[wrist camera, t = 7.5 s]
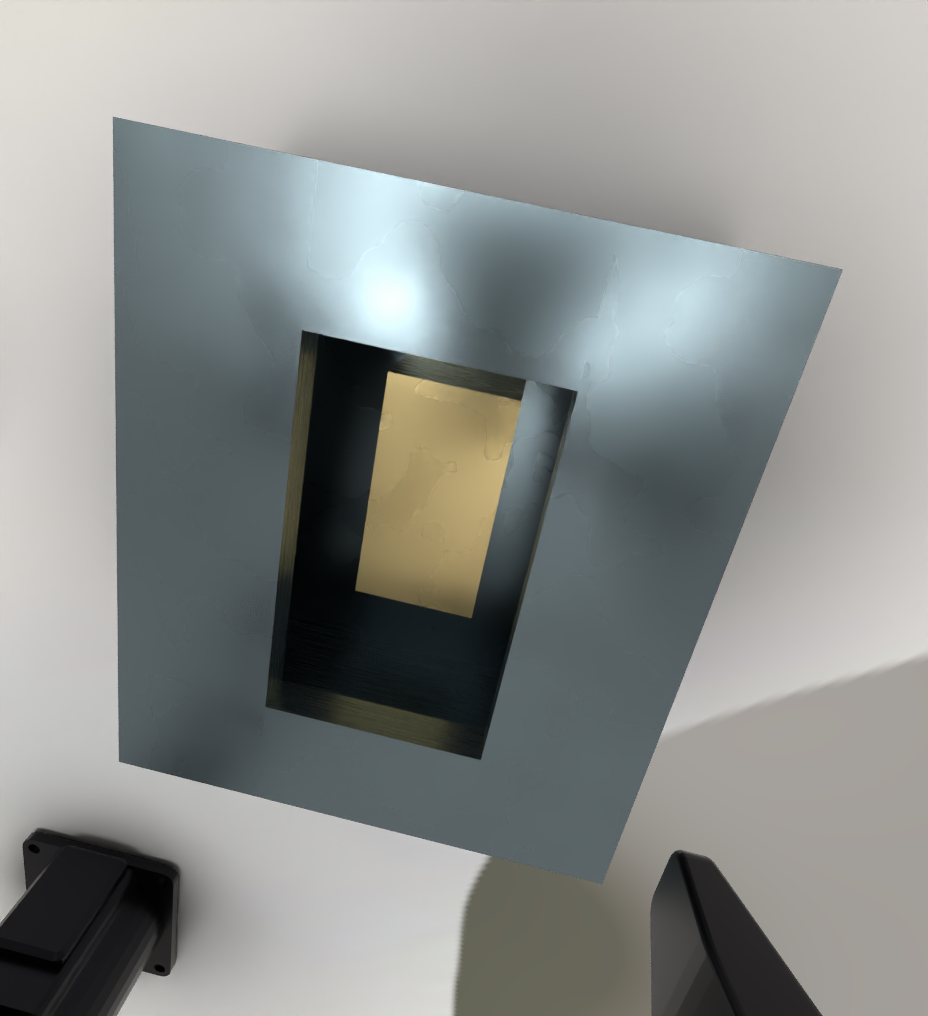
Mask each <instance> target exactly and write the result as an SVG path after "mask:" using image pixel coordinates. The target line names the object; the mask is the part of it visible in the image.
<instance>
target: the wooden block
mask: <svg viewBox="0 0 928 1016" xmlns="http://www.w3.org/2000/svg"><path fill="white" fill-rule="evenodd" d="M525 384H526V380H525V379H520V378H516V377H511V376H507V375H502V374H498V373H493V372H489V371H484V370H480V369H475V368H471V367H466V366H462V365H457V364H453V363H448V362H444V361H439V360H435V359H430V358H426V357H421V356H416V355H412V354H409V355H408V356H406V357H405V358H404V359H403V360H402V361H400V362H399V363H398V364H397V365H395V366H394V367H393V368H392V369H391V370H389V371H388V375H387V381H386V388H385V395H384V402H383V408H382V415H381V422H380V428H379V435H378V442H377V448H376V455H375V462H374V468H373V475H372V482H371V488H370V495H369V502H368V508H367V515H366V522H365V528H364V535H363V542H362V548H361V555H360V562H359V568H358V575H357V582H356V588H355V591H359V592H364V593H368V594H372V595H376V596H380V597H385V598H389V599H393V600H397V601H401V602H406V603H410V604H414V605H418V606H422V607H427V608H431V609H435V610H439V611H443V612H448V613H452V614H456V615H460V616H464V617H469V618H472V613H473V609H474V605H475V600H476V596H477V592H478V588H479V583H480V579H481V575H482V570H483V566H484V562H485V557H486V553H487V549H488V544H489V540H490V536H491V531H492V527H493V523H494V519H495V514H496V510H497V506H498V501H499V497H500V493H501V488H502V484H503V480H504V475H505V471H506V467H507V462H508V458H509V454H510V449H511V445H512V441H513V437H514V432H515V428H516V424H517V419H518V415H519V411H520V406H521V402H522V398H523V393H524V389H525Z"/></svg>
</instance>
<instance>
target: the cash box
mask: <svg viewBox="0 0 928 1016" xmlns="http://www.w3.org/2000/svg"><path fill="white" fill-rule="evenodd" d="M113 178H114V283H115V389H116V495H117V600H118V706H119V762H123V763H127V764H130V765H134V766H138V767H142V768H146V769H150V770H154V771H158V772H162V773H166V774H170V775H174V776H178V777H182V778H186V779H190V780H194V781H198V782H201V783H205V784H209V785H213V786H217V787H221V788H225V789H229V790H233V791H237V792H241V793H245V794H249V795H253V796H257V797H261V798H265V799H268V800H272V801H276V802H280V803H284V804H288V805H292V806H296V807H300V808H304V809H308V810H312V811H316V812H320V813H324V814H328V815H332V816H336V817H339V818H343V819H347V820H351V821H355V822H359V823H363V824H367V825H371V826H375V827H379V828H383V829H387V830H391V831H395V832H399V833H403V834H406V835H410V836H414V837H418V838H422V839H426V840H430V841H434V842H438V843H442V844H446V845H450V846H454V847H458V848H462V849H466V850H470V851H474V852H477V853H481V854H485V855H489V856H493V857H497V858H501V859H505V860H509V861H513V862H517V863H521V864H525V865H529V866H533V867H537V868H541V869H545V870H548V871H553V872H556V873H560V874H564V875H568V876H572V877H576V878H580V879H584V880H588V881H592V882H596V883H600V884H602V883H603V880H604V878H605V875H606V873H607V870H608V868H609V865H610V863H611V860H612V857H613V855H614V852H615V850H616V847H617V845H618V842H619V840H620V837H621V834H622V832H623V829H624V827H625V824H626V822H627V819H628V817H629V814H630V811H631V808H632V806H633V804H634V801H635V799H636V796H637V794H638V791H639V788H640V786H641V783H642V781H643V778H644V776H645V773H646V770H647V768H648V766H649V763H650V760H651V758H652V755H653V753H654V750H655V748H656V745H657V743H658V740H659V737H660V735H661V732H662V730H663V727H664V725H665V722H666V720H667V717H668V714H669V712H670V709H671V707H672V704H673V702H674V699H675V697H676V694H677V691H678V689H679V686H680V684H681V681H682V679H683V676H684V674H685V671H686V668H687V666H688V663H689V661H690V658H691V656H692V653H693V651H694V648H695V645H696V643H697V640H698V638H699V635H700V633H701V630H702V628H703V625H704V622H705V620H706V617H707V615H708V612H709V610H710V607H711V605H712V602H713V600H714V597H715V594H716V592H717V589H718V587H719V584H720V582H721V579H722V577H723V574H724V571H725V569H726V566H727V564H728V561H729V559H730V556H731V554H732V551H733V548H734V546H735V543H736V541H737V538H738V536H739V533H740V531H741V528H742V525H743V523H744V520H745V518H746V515H747V513H748V510H749V508H750V505H751V502H752V500H753V497H754V495H755V492H756V490H757V487H758V485H759V482H760V479H761V477H762V474H763V472H764V469H765V467H766V464H767V462H768V459H769V456H770V454H771V451H772V449H773V446H774V444H775V441H776V439H777V436H778V433H779V431H780V428H781V426H782V423H783V421H784V418H785V416H786V413H787V411H788V408H789V405H790V403H791V400H792V398H793V395H794V393H795V390H796V388H797V385H798V382H799V380H800V377H801V375H802V372H803V370H804V367H805V365H806V362H807V359H808V357H809V354H810V352H811V349H812V347H813V344H814V342H815V339H816V336H817V334H818V331H819V329H820V326H821V324H822V321H823V319H824V316H825V313H826V311H827V308H828V306H829V303H830V301H831V298H832V296H833V293H834V290H835V288H836V285H837V283H838V280H839V278H840V275H841V273H842V269H838V268H833V267H828V266H823V265H819V264H814V263H809V262H804V261H799V260H795V259H790V258H785V257H780V256H776V255H771V254H766V253H761V252H756V251H752V250H747V249H742V248H737V247H733V246H728V245H723V244H718V243H713V242H709V241H704V240H699V239H694V238H690V237H685V236H680V235H675V234H670V233H666V232H661V231H656V230H651V229H647V228H642V227H637V226H632V225H627V224H623V223H618V222H613V221H608V220H604V219H599V218H594V217H589V216H584V215H580V214H575V213H570V212H565V211H561V210H556V209H551V208H546V207H541V206H537V205H532V204H527V203H522V202H518V201H513V200H508V199H503V198H498V197H494V196H489V195H484V194H479V193H475V192H470V191H465V190H460V189H455V188H451V187H446V186H441V185H436V184H432V183H427V182H422V181H417V180H412V179H408V178H403V177H398V176H393V175H389V174H384V173H379V172H374V171H369V170H365V169H360V168H355V167H350V166H346V165H341V164H336V163H331V162H326V161H322V160H317V159H312V158H307V157H303V156H298V155H293V154H288V153H283V152H279V151H274V150H269V149H264V148H260V147H255V146H250V145H245V144H240V143H236V142H231V141H226V140H221V139H217V138H212V137H207V136H202V135H197V134H193V133H188V132H183V131H178V130H174V129H169V128H164V127H159V126H154V125H150V124H145V123H140V122H135V121H131V120H126V119H121V118H116V117H113ZM409 354H412V355H416V356H421V357H426V358H430V359H435V360H439V361H444V362H448V363H453V364H457V365H462V366H466V367H471V368H475V369H480V370H484V371H489V372H493V373H498V374H502V375H507V376H511V377H516V378H520V379H525V380H526V384H525V389H524V393H523V398H522V402H521V406H520V411H519V415H518V419H517V424H516V428H515V432H514V437H513V441H512V445H511V449H510V454H509V458H508V462H507V467H506V471H505V475H504V480H503V484H502V488H501V493H500V497H499V501H498V506H497V510H496V514H495V519H494V523H493V527H492V531H491V536H490V540H489V544H488V549H487V553H486V557H485V562H484V566H483V570H482V575H481V579H480V583H479V588H478V592H477V596H476V600H475V605H474V609H473V613H472V618H469V617H464V616H460V615H456V614H452V613H448V612H443V611H439V610H435V609H431V608H427V607H422V606H418V605H414V604H410V603H406V602H401V601H397V600H393V599H389V598H385V597H380V596H376V595H372V594H368V593H364V592H359V591H355V588H356V582H357V575H358V568H359V562H360V555H361V548H362V542H363V535H364V528H365V522H366V515H367V508H368V502H369V495H370V488H371V482H372V475H373V468H374V462H375V455H376V448H377V442H378V435H379V428H380V422H381V415H382V408H383V402H384V395H385V388H386V381H387V375H388V371H389V370H391V369H392V368H393V367H394V366H395V365H397V364H398V363H399V362H400V361H402V360H403V359H404V358H405V357H406V356H408V355H409Z"/></svg>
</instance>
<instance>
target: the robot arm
mask: <svg viewBox="0 0 928 1016" xmlns="http://www.w3.org/2000/svg"><path fill="white" fill-rule="evenodd" d="M23 856H24V867H25V879H26V890H27V891H26V892H25V893H24V895H23V896H22V897H21V898H20V899H19V901H18V902H17V903H16V904H15V906H14V907H13V908H12V909H11V911H10V912H9V913H8V914H7V916H6V917H5V918H4V919H3V920H2V922H1V923H0V1016H117V1015H118V1013H119V1011H120V1009H121V1008H122V1006H123V1004H124V1002H125V1000H126V999H127V997H128V995H129V993H130V992H131V990H132V988H133V986H134V984H135V983H136V981H137V979H138V977H139V976H140V974H141V972H142V971H144V972H148V973H151V974H155V975H159V976H167V975H169V974H170V972H171V970H172V968H173V966H174V964H175V955H176V930H177V904H178V878H179V877H178V873H177V872H176V870H175V869H173V868H172V867H170V866H168V865H164V864H160V863H156V862H152V861H149V860H145V859H141V858H137V857H133V856H129V855H125V854H122V853H118V852H114V851H110V850H106V849H102V848H99V847H95V846H91V845H87V844H83V843H79V842H75V841H72V840H68V839H64V838H60V837H56V836H52V835H49V834H45V833H41V832H34V833H32V834H31V835H30V836H29V837H28V838H27V839H26V840H25V841H24V843H23ZM650 942H651V1016H822V1015H821V1013H820V1012H819V1010H818V1009H817V1008H816V1006H815V1005H814V1003H813V1002H812V1000H811V999H810V998H809V996H808V995H807V993H806V992H805V991H804V989H803V988H802V986H801V985H800V983H799V982H798V981H797V979H796V978H795V976H794V975H793V974H792V972H791V971H790V969H789V968H788V966H787V965H786V964H785V962H784V961H783V959H782V958H781V956H780V955H779V954H778V952H777V951H776V949H775V948H774V947H773V945H772V944H771V942H770V941H769V939H768V938H767V937H766V935H765V934H764V932H763V931H762V929H761V928H760V927H759V925H758V924H757V923H756V921H755V920H754V918H753V917H752V916H751V914H750V912H749V911H748V910H747V908H746V907H745V905H744V904H743V903H742V901H741V900H740V898H739V897H738V895H737V894H736V893H735V892H734V890H733V888H732V887H731V886H730V884H729V883H728V881H727V880H726V878H725V877H724V876H723V874H722V873H721V872H720V870H719V868H718V867H717V866H716V864H715V863H714V862H713V861H712V860H711V859H710V858H708V857H706V856H702V855H698V854H694V853H690V852H687V851H682V850H677V851H675V852H674V853H673V854H672V855H671V857H670V859H669V861H668V863H667V865H666V868H665V870H664V872H663V875H662V877H661V879H660V881H659V884H658V886H657V888H656V891H655V893H654V895H653V899H652V903H651V911H650Z"/></svg>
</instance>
